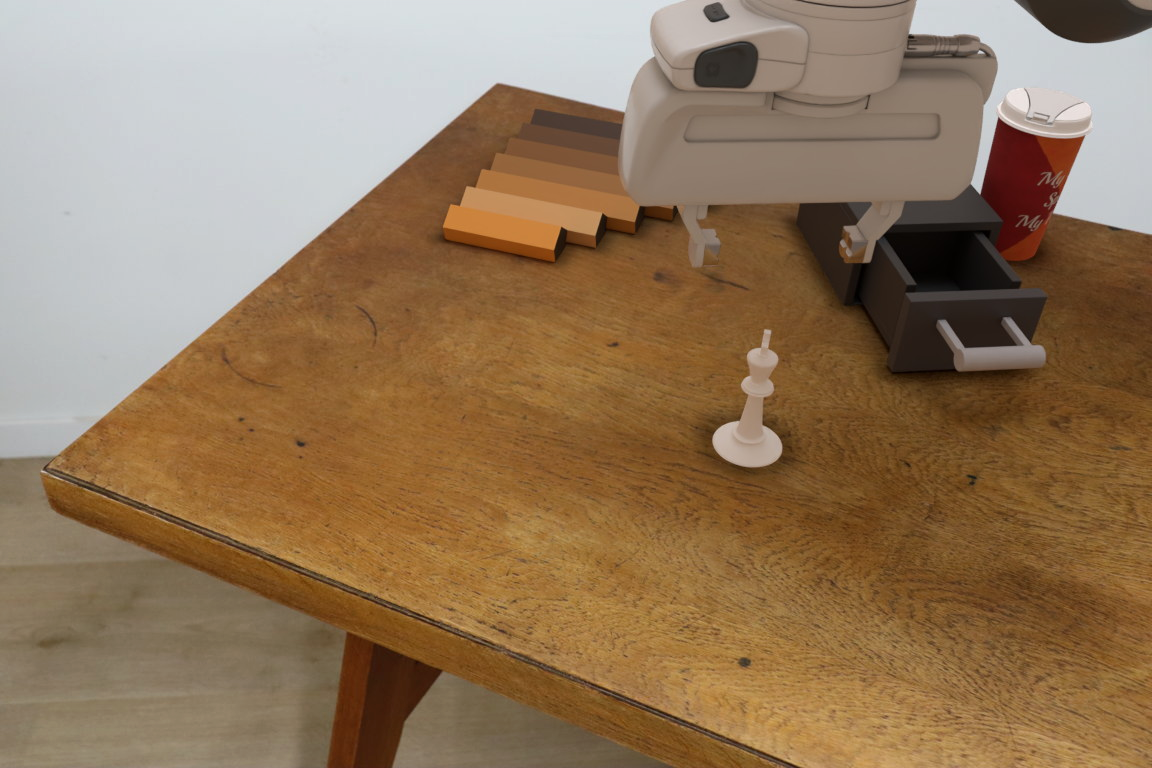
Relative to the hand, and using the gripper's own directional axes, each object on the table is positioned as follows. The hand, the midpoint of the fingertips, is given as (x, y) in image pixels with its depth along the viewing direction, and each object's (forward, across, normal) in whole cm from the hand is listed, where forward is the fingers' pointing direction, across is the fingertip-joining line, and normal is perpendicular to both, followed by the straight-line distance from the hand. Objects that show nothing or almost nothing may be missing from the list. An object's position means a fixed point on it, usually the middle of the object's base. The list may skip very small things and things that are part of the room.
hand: (778, 260), depth 67 cm
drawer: (+14, -18, -10) cm, 25 cm away
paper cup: (+15, -30, -25) cm, 42 cm away
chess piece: (+15, 0, 0) cm, 15 cm away
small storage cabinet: (+15, -18, -23) cm, 33 cm away
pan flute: (+15, +3, -34) cm, 37 cm away
